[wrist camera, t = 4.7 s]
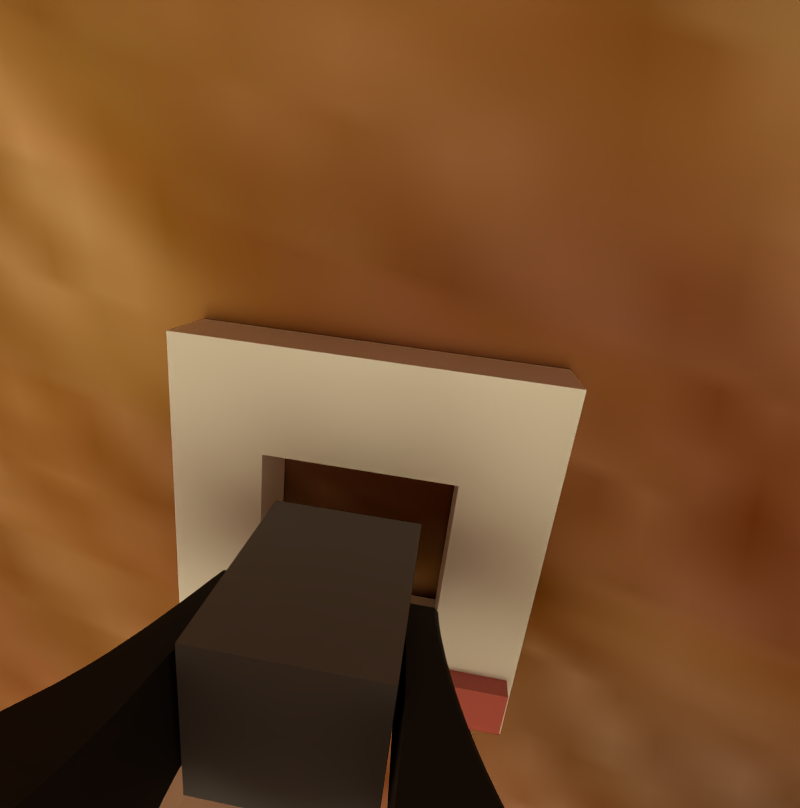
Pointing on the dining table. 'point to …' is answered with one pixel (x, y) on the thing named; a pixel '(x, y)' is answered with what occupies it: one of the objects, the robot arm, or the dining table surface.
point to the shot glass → (186, 797)
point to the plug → (298, 663)
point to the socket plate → (380, 465)
